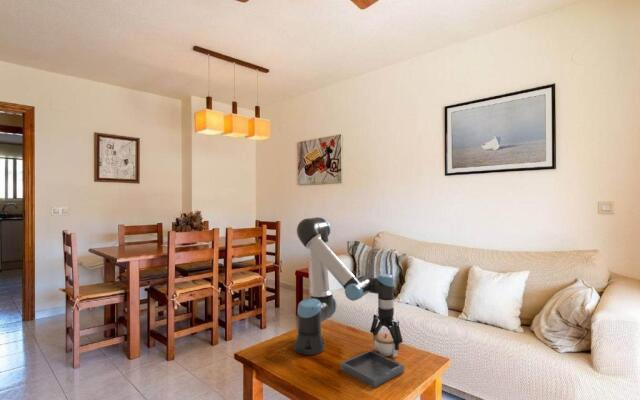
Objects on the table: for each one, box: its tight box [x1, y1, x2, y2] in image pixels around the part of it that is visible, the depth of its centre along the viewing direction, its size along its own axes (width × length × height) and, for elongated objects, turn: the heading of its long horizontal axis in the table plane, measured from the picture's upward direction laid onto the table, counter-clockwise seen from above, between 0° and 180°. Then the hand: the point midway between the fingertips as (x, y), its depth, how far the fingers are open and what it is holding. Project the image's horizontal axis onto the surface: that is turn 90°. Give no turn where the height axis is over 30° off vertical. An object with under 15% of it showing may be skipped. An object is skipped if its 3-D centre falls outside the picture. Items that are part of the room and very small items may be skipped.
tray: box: [339, 349, 405, 389], centre depth 152 cm, size 19×19×3 cm
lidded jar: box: [375, 332, 394, 357], centre depth 169 cm, size 11×11×9 cm
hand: (385, 352), depth 169 cm, fingers closed on lidded jar, 11 cm apart
